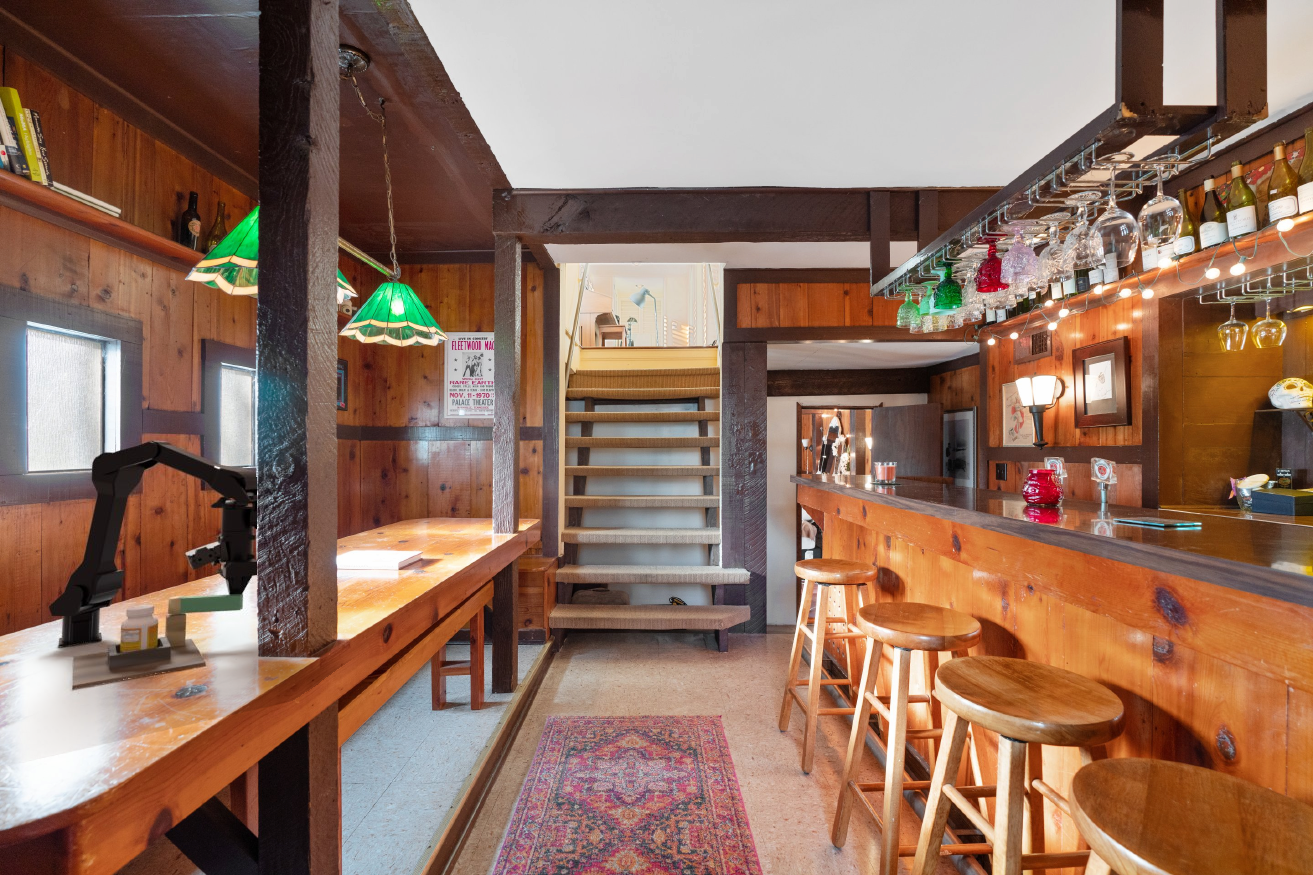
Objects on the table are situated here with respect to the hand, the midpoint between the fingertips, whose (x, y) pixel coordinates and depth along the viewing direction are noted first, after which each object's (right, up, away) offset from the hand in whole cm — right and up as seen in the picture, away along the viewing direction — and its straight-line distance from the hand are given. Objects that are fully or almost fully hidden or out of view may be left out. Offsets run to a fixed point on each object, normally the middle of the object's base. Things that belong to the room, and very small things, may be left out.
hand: (234, 603), depth 130 cm
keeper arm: (-3, 0, -4) cm, 5 cm away
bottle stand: (-8, -7, -14) cm, 18 cm away
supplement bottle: (-8, -7, -14) cm, 18 cm away
